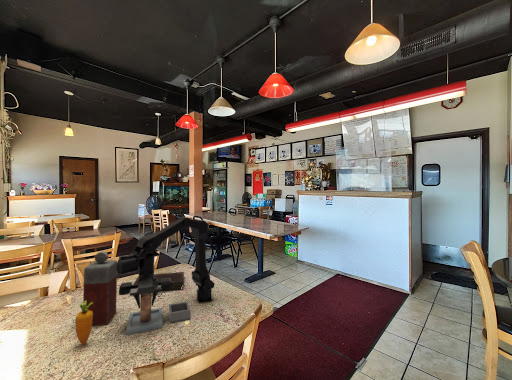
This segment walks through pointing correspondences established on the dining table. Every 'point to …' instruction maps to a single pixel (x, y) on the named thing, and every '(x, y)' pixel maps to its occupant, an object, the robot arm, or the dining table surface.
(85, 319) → the carrot
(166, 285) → the robot arm
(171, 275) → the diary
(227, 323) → the dining table surface
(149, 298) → the dowel pin
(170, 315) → the grey square bin
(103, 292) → the dark red canister
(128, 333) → the slate tray
